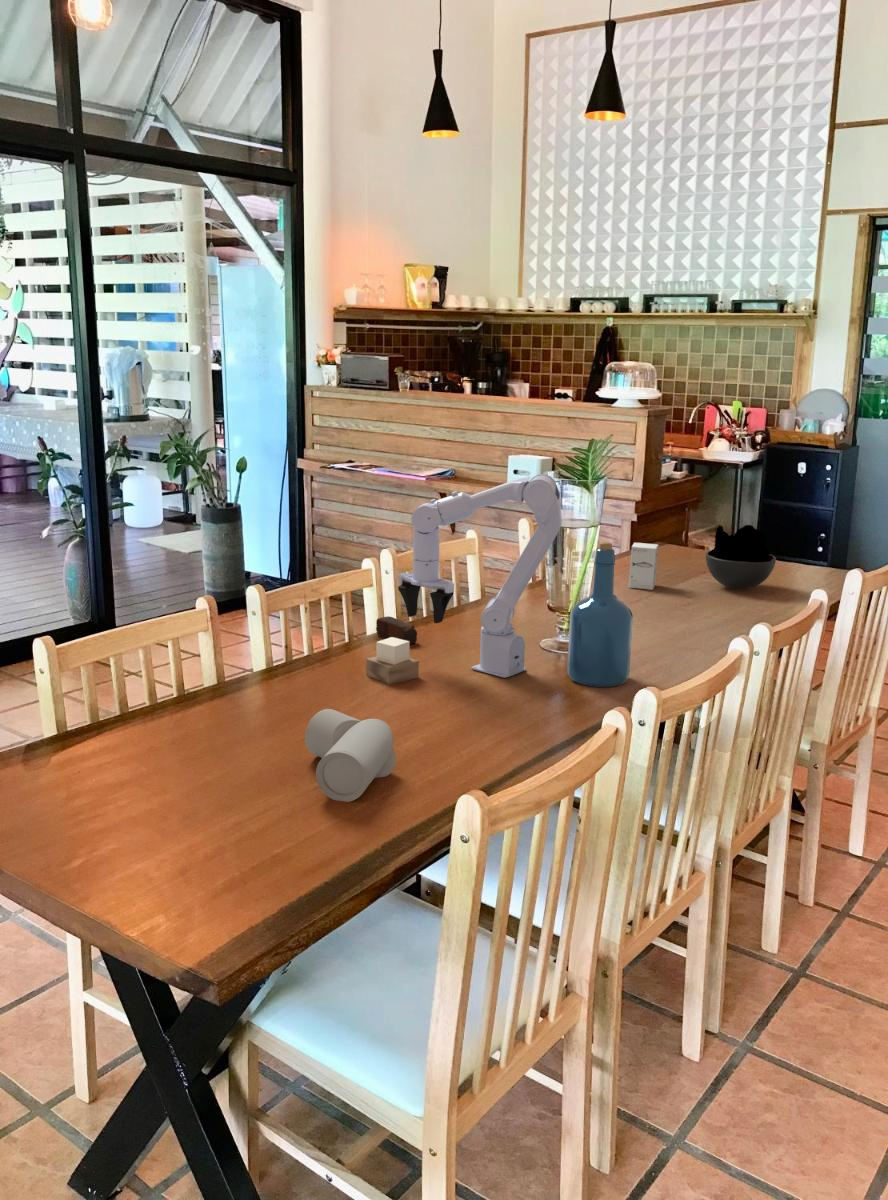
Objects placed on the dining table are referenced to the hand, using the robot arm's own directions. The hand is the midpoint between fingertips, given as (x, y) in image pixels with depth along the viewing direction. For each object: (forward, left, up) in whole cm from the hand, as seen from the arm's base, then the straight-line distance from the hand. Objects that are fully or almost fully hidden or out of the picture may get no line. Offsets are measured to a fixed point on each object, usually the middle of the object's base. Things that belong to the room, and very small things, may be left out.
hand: (425, 619), depth 229 cm
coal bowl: (-20, -119, -11) cm, 121 cm away
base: (0, +11, -11) cm, 15 cm away
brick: (+18, -10, -11) cm, 23 cm away
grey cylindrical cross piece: (-30, +55, -11) cm, 63 cm away
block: (0, +11, -7) cm, 13 cm away
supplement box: (+2, -101, -11) cm, 102 cm away
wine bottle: (-34, -18, -11) cm, 40 cm away
